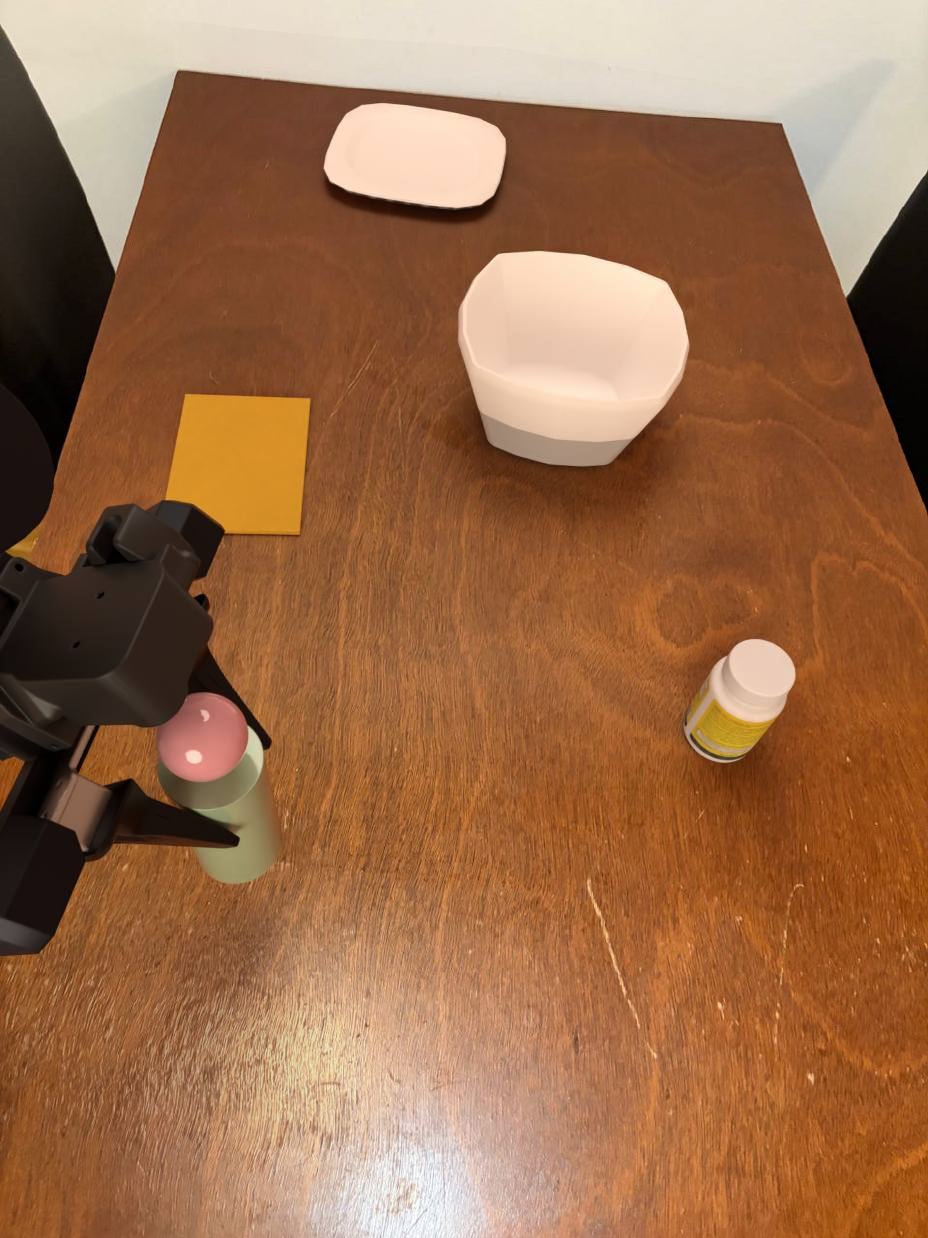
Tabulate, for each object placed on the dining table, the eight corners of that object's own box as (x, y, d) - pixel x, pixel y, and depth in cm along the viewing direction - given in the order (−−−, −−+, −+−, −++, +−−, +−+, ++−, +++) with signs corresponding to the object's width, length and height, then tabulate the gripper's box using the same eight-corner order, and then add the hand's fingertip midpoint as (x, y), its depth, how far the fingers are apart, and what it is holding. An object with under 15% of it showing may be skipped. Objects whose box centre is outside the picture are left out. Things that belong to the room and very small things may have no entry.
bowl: (661, 362, 79) (693, 270, 72) (656, 511, 69) (691, 422, 62) (465, 329, 80) (475, 233, 72) (432, 472, 70) (440, 379, 62)
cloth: (300, 535, 65) (299, 531, 65) (160, 531, 64) (159, 528, 64) (310, 401, 73) (310, 398, 73) (186, 397, 72) (185, 393, 72)
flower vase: (235, 902, 44) (187, 792, 33) (177, 844, 46) (111, 718, 34) (300, 839, 46) (277, 714, 35) (242, 785, 48) (202, 647, 36)
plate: (312, 200, 89) (311, 184, 87) (350, 110, 99) (349, 94, 97) (491, 229, 88) (493, 213, 87) (510, 135, 99) (512, 119, 97)
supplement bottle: (762, 760, 58) (815, 699, 51) (693, 768, 57) (738, 707, 50) (738, 696, 61) (785, 629, 54) (673, 703, 60) (712, 636, 53)
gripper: (-166, 840, 21) (312, 1017, 30) (131, 338, 31) (421, 581, 40) (-285, 877, 28) (135, 1013, 37) (-7, 454, 38) (268, 639, 47)
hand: (250, 794), depth 40 cm, fingers closed on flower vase, 4 cm apart
